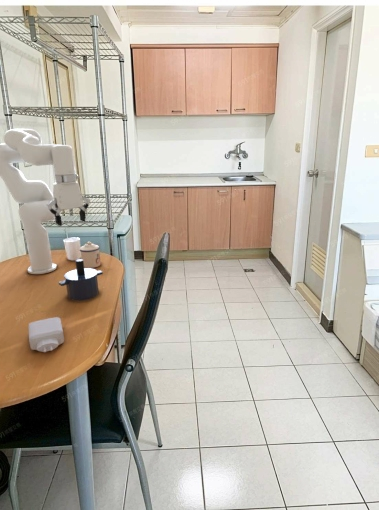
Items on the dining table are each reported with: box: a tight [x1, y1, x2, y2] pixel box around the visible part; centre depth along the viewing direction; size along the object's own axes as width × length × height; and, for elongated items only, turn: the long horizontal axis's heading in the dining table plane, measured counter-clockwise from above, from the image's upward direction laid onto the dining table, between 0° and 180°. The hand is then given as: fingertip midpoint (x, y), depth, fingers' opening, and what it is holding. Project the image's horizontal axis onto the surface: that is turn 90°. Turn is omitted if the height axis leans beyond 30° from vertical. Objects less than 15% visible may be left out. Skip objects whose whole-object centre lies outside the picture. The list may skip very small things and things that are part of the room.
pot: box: [58, 269, 104, 302], centre depth 133 cm, size 11×17×8 cm
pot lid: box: [63, 258, 98, 281], centre depth 131 cm, size 12×12×7 cm
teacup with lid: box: [80, 241, 102, 269], centre depth 166 cm, size 12×9×12 cm
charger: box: [28, 316, 65, 353], centre depth 102 cm, size 5×9×15 cm
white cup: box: [63, 236, 82, 261], centre depth 175 cm, size 8×8×10 cm
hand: (71, 222), depth 137 cm, fingers open, 9 cm apart
